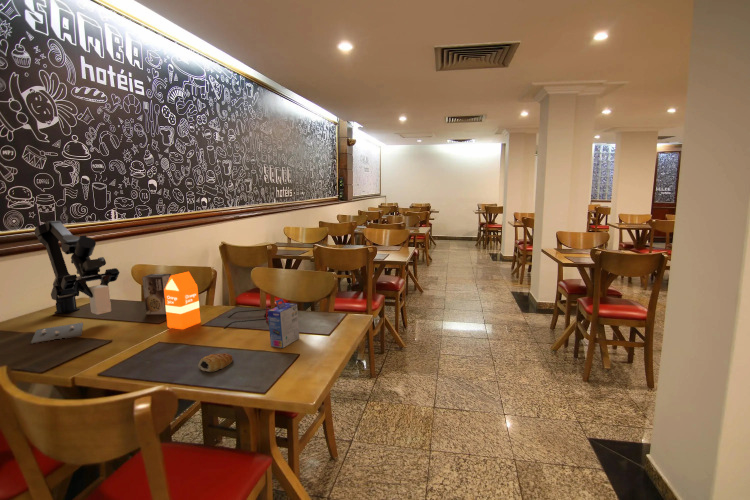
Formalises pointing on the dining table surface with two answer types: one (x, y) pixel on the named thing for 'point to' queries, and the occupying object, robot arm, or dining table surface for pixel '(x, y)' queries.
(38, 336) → the mat
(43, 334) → the locator pins
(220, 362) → the pastry
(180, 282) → the orange juice
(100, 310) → the block
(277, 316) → the ink cartridge box
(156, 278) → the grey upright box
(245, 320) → the glasses
